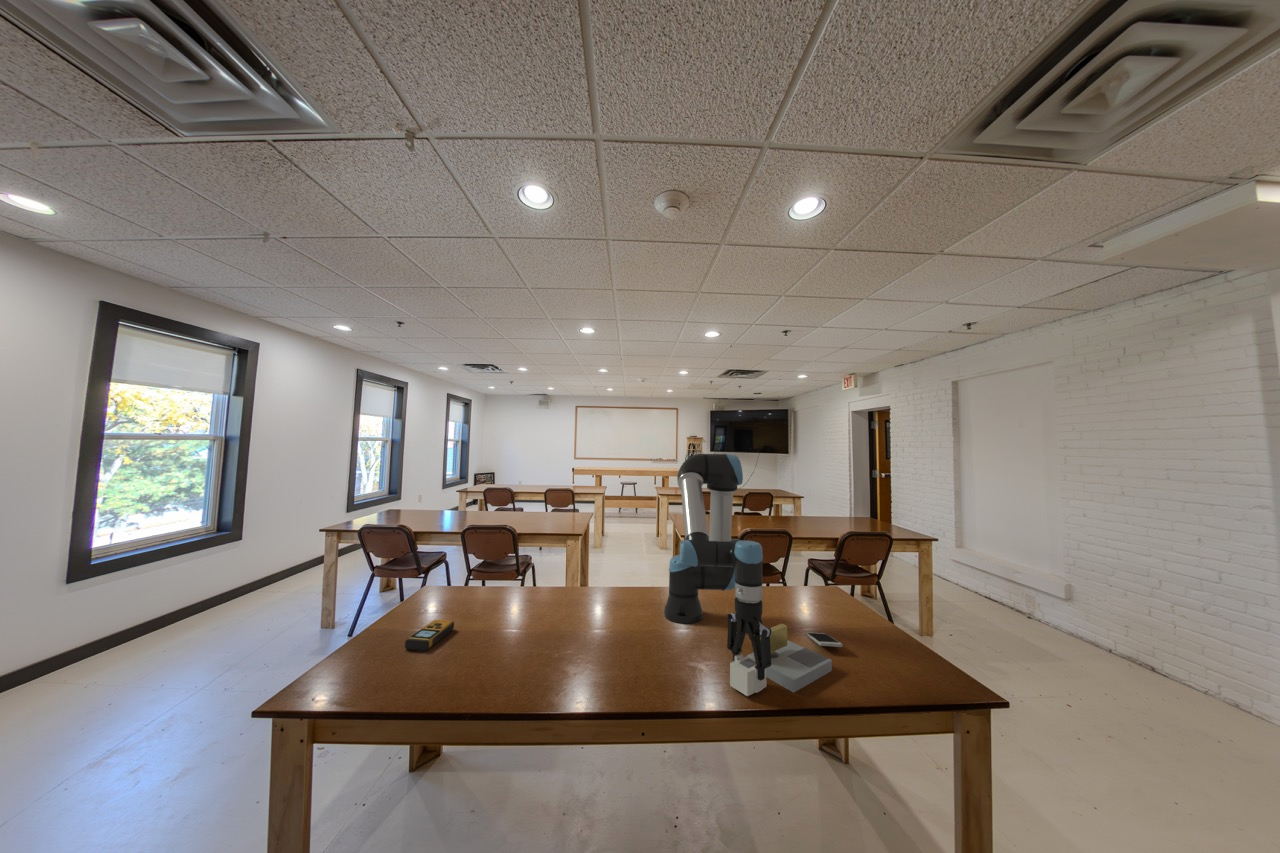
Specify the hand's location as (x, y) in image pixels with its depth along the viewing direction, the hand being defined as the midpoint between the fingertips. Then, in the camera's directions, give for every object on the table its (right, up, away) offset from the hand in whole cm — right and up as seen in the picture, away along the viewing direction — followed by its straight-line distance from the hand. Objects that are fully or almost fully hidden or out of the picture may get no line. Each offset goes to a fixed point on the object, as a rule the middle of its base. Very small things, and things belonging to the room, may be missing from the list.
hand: (748, 684), depth 109 cm
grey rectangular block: (0, 0, 0) cm, 0 cm away
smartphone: (+33, -2, +20) cm, 38 cm away
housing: (+15, -3, +11) cm, 19 cm away
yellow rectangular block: (+11, +1, +13) cm, 17 cm away
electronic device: (-100, -3, +31) cm, 105 cm away
